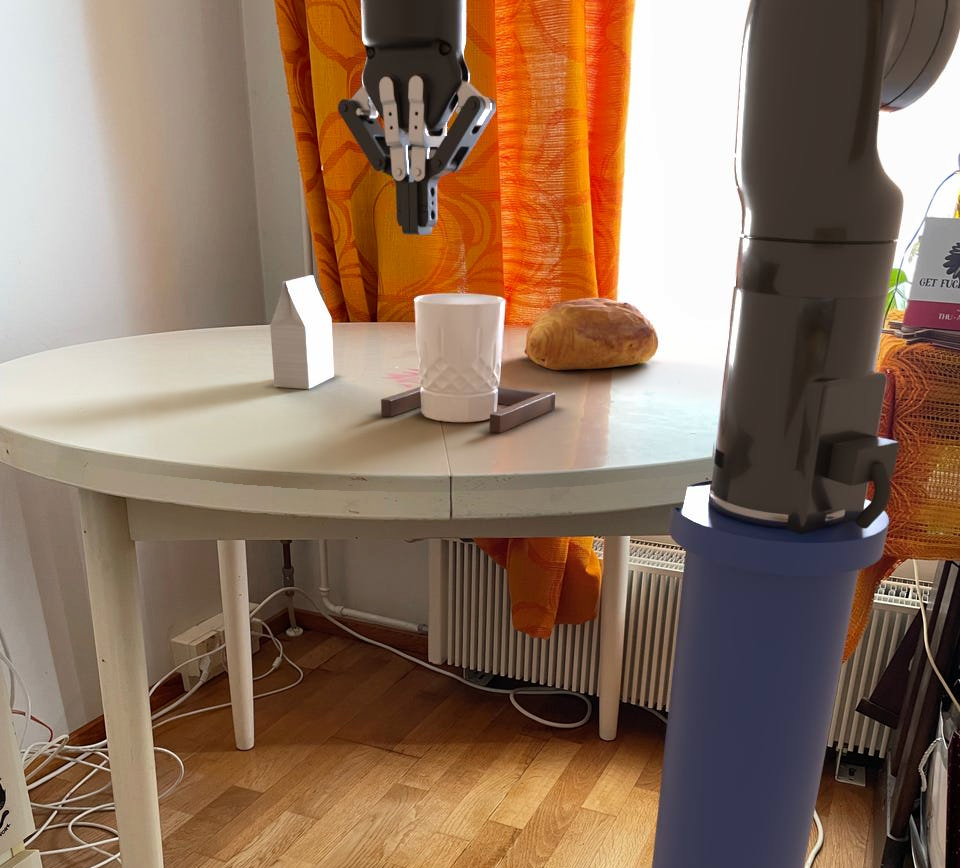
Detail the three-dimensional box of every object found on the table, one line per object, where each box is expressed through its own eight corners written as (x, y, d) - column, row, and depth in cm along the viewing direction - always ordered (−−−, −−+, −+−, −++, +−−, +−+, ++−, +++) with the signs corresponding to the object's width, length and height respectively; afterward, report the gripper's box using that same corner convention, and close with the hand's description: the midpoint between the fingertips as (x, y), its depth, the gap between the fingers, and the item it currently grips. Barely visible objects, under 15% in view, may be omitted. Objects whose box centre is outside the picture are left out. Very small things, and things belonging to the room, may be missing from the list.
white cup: (494, 427, 88) (496, 306, 84) (405, 421, 89) (403, 302, 85) (509, 407, 95) (512, 295, 91) (426, 402, 96) (426, 291, 92)
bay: (499, 433, 86) (500, 415, 85) (381, 415, 91) (380, 399, 91) (554, 409, 95) (555, 392, 94) (443, 394, 100) (443, 378, 99)
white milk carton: (333, 376, 107) (329, 276, 103) (308, 388, 101) (303, 282, 97) (301, 374, 108) (295, 274, 104) (274, 386, 102) (267, 281, 98)
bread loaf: (670, 388, 115) (687, 315, 112) (545, 375, 109) (559, 297, 106) (613, 362, 127) (627, 295, 124) (497, 349, 121) (509, 279, 118)
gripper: (305, -30, 72) (319, 233, 79) (468, -46, 67) (468, 239, 74) (365, -14, 78) (373, 230, 85) (520, -28, 73) (514, 235, 80)
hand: (417, 234), depth 80 cm, fingers closed
